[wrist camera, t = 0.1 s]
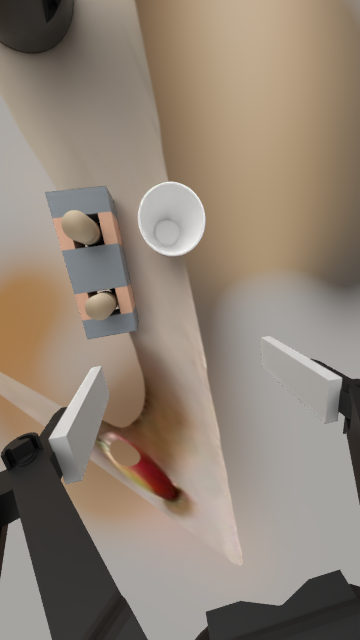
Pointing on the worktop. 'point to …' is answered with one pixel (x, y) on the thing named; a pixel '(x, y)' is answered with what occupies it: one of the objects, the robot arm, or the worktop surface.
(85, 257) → the block
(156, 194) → the cup
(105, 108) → the worktop surface
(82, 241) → the peg
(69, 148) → the worktop surface
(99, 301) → the peg
